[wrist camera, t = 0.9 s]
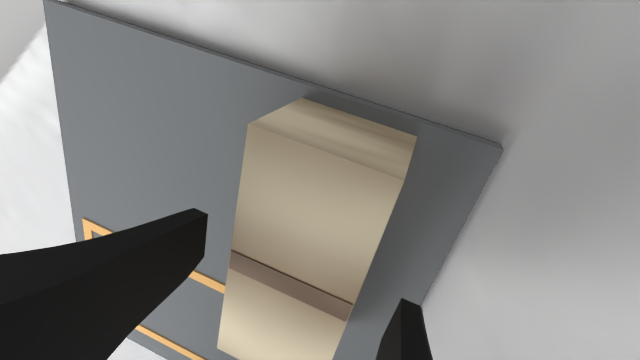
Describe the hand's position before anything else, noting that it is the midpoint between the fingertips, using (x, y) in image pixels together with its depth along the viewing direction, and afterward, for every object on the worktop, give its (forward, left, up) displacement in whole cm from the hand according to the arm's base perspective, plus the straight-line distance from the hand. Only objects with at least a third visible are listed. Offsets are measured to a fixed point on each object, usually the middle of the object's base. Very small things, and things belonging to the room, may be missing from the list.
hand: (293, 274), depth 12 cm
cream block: (0, 0, -4) cm, 4 cm away
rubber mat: (-5, +5, -4) cm, 8 cm away
